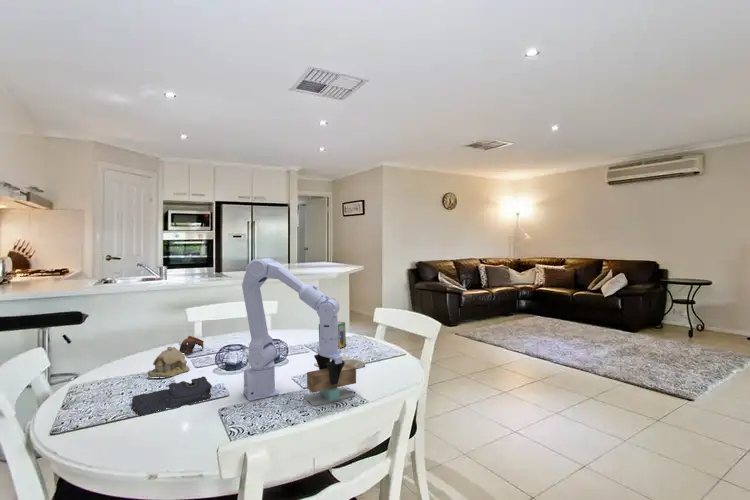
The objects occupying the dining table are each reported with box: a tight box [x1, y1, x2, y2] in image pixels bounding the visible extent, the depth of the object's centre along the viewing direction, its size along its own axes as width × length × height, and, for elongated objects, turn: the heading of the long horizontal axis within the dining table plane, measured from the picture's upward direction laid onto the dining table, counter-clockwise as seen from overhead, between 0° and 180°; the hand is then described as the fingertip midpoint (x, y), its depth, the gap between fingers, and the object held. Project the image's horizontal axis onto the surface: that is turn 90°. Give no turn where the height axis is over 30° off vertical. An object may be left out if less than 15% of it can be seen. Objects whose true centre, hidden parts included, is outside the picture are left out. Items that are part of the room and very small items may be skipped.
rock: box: [313, 355, 366, 370], centre depth 151 cm, size 21×5×15 cm
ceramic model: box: [147, 346, 190, 378], centre depth 146 cm, size 14×11×10 cm
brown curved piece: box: [179, 335, 205, 354], centre depth 173 cm, size 12×10×8 cm
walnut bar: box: [306, 364, 357, 394], centre depth 123 cm, size 15×4×5 cm, turn 121°
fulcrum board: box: [303, 386, 356, 407], centre depth 123 cm, size 14×8×4 cm, turn 121°
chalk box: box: [318, 320, 347, 349], centre depth 179 cm, size 9×9×15 cm
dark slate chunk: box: [131, 376, 213, 416], centre depth 122 cm, size 15×22×5 cm
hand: (329, 380), depth 123 cm, fingers open, 7 cm apart
